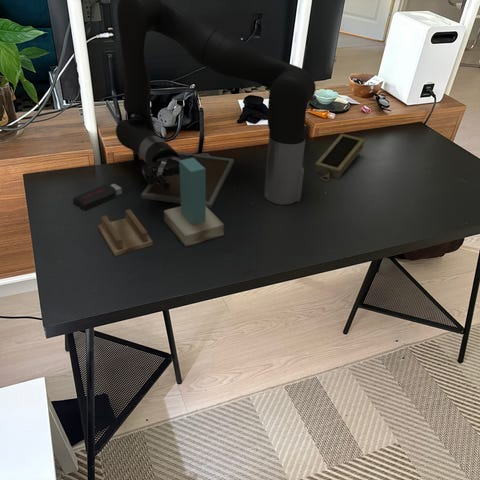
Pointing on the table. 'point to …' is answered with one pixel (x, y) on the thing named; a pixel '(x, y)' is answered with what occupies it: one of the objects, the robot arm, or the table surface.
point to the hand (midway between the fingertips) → (185, 182)
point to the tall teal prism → (193, 191)
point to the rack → (124, 234)
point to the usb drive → (97, 196)
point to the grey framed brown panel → (213, 176)
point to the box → (339, 156)
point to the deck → (193, 227)
